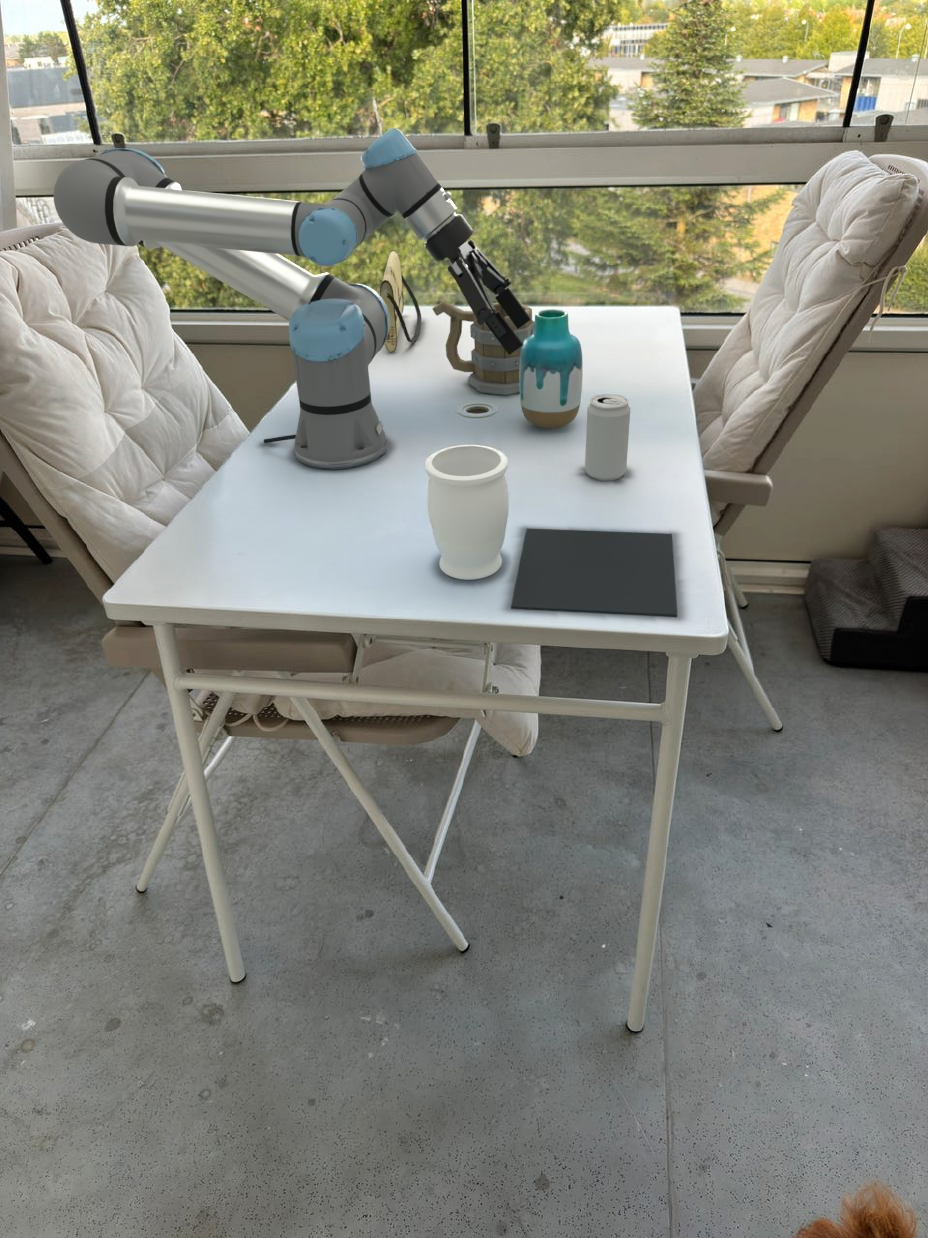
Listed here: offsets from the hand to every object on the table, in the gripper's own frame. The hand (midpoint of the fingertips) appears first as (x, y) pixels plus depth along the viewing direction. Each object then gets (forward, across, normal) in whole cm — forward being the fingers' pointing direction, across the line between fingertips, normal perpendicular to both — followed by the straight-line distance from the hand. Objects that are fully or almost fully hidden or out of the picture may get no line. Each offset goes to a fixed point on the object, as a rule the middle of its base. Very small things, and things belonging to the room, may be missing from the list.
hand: (520, 336), depth 154 cm
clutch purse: (-6, +50, +34) cm, 61 cm away
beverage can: (+21, -19, -3) cm, 29 cm away
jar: (+11, -48, +11) cm, 51 cm away
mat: (+21, -48, -3) cm, 53 cm away
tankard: (+7, +21, +16) cm, 27 cm away
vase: (+16, 0, +5) cm, 16 cm away
